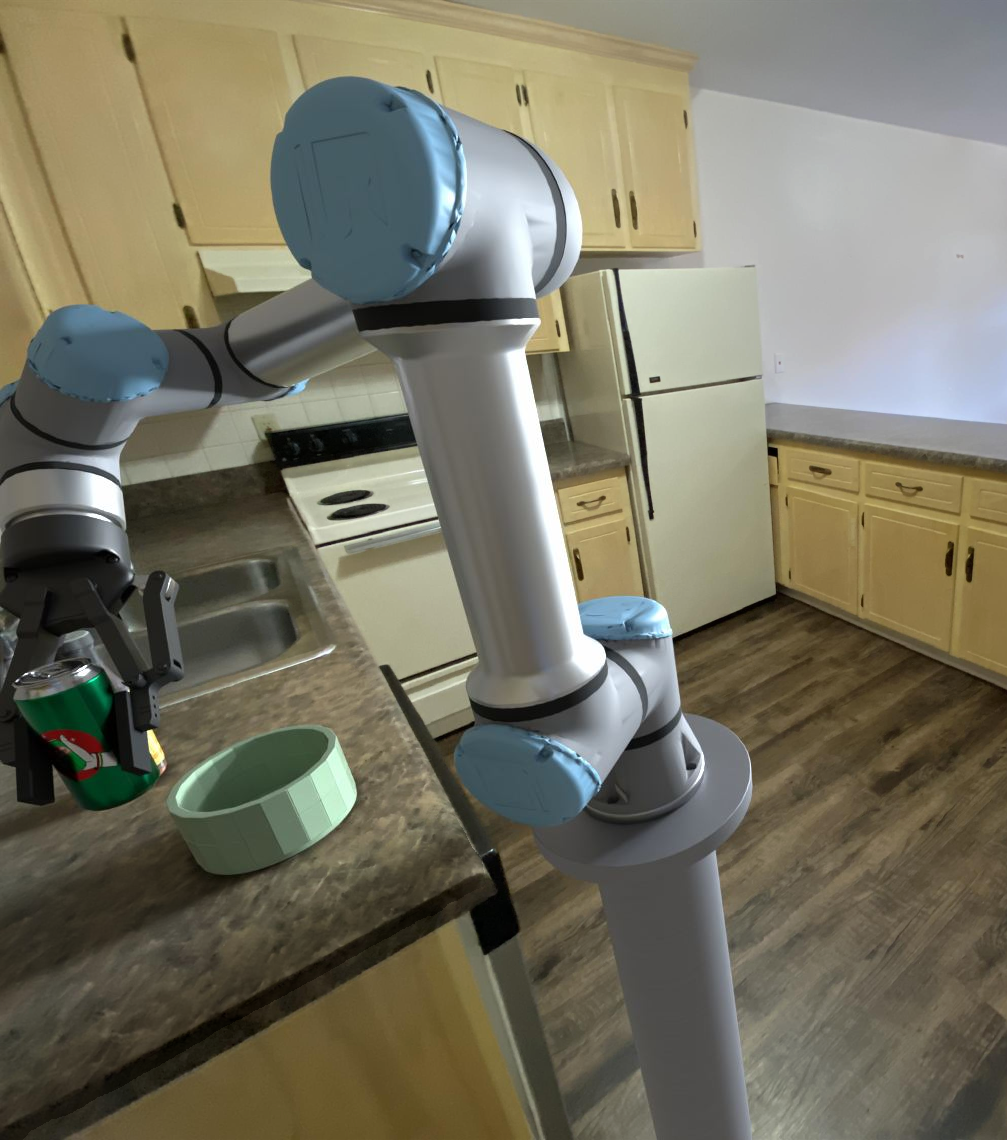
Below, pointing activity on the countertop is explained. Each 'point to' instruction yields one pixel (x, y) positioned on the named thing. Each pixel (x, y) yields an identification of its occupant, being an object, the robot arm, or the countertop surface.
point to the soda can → (80, 731)
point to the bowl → (263, 799)
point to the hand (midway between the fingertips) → (88, 785)
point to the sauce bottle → (84, 647)
